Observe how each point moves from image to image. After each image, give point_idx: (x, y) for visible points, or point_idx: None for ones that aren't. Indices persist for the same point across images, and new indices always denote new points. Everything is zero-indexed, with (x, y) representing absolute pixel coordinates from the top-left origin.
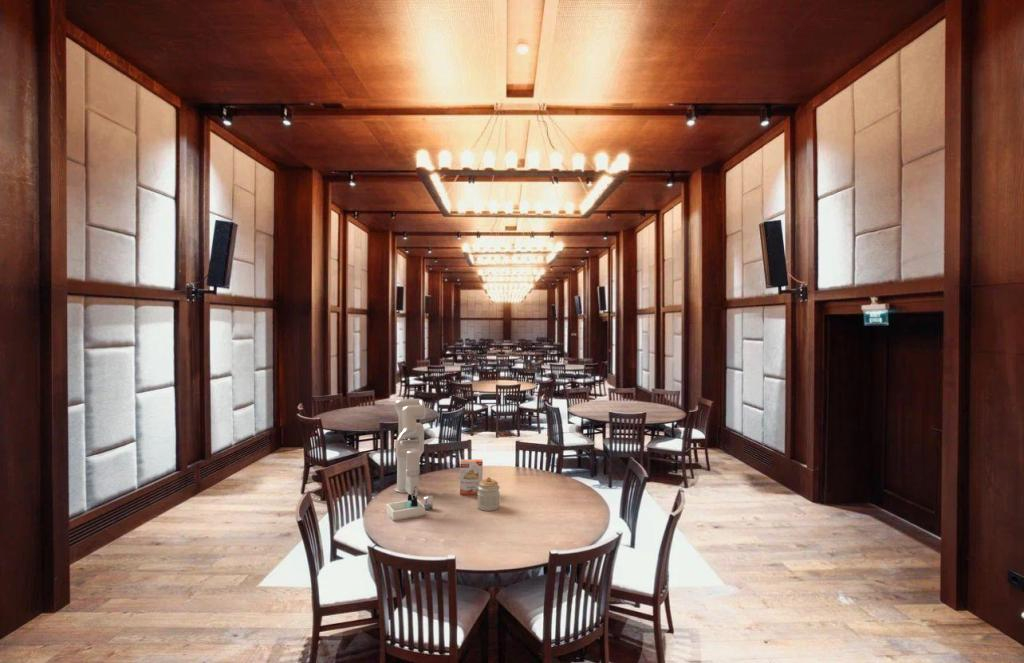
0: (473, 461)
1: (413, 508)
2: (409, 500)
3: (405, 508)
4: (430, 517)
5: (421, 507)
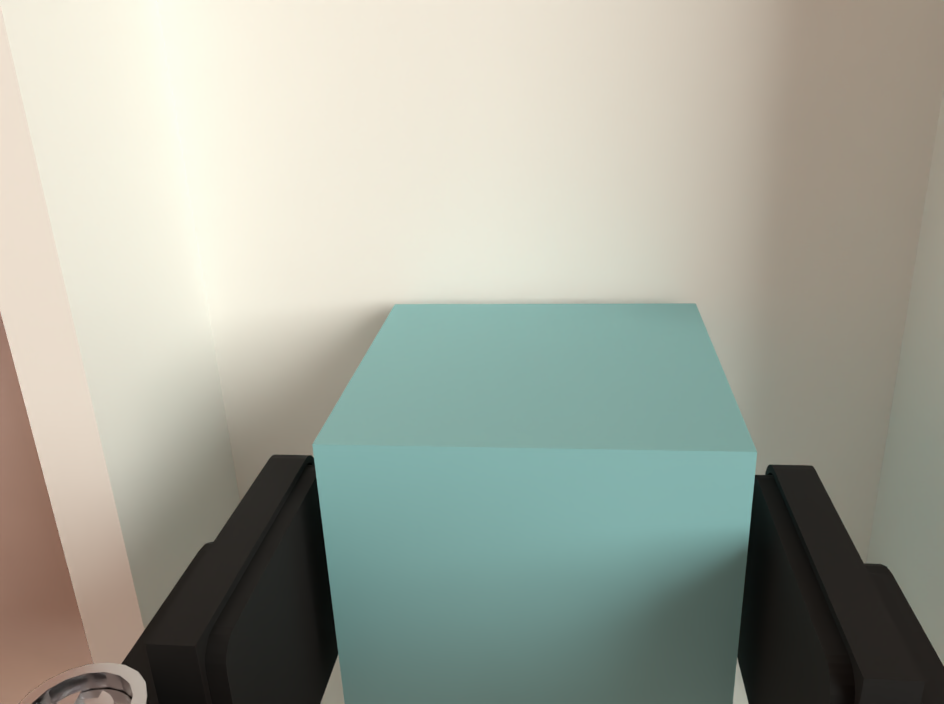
0: None
1: (36, 443)
2: (739, 568)
3: (891, 309)
4: (87, 651)
5: None
